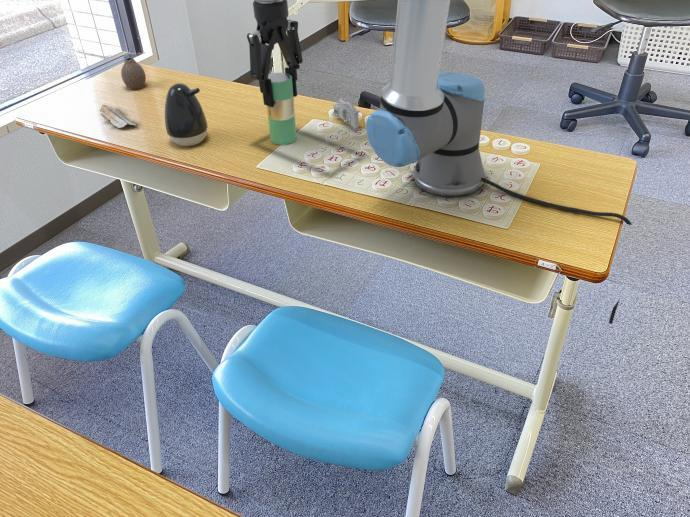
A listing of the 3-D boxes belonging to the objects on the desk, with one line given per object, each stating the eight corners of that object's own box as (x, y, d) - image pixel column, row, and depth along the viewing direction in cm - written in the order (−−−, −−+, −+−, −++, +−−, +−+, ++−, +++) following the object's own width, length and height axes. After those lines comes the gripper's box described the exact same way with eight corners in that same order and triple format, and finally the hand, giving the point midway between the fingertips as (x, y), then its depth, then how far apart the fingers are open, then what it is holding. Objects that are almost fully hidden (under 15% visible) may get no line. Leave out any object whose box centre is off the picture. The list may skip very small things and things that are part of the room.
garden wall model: (333, 114, 160) (332, 93, 156) (338, 113, 161) (337, 92, 157) (354, 130, 152) (353, 109, 148) (360, 129, 152) (360, 107, 149)
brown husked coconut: (121, 91, 180) (113, 62, 174) (131, 82, 185) (123, 54, 180) (142, 91, 179) (134, 63, 173) (151, 83, 184) (144, 55, 179)
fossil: (94, 112, 167) (103, 100, 167) (103, 119, 169) (113, 107, 170) (119, 132, 155) (129, 119, 156) (129, 139, 158) (139, 127, 158)
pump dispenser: (201, 152, 145) (189, 93, 136) (163, 150, 147) (148, 91, 138) (217, 134, 153) (206, 77, 144) (180, 132, 155) (167, 75, 146)
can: (297, 76, 139) (278, 70, 142) (277, 85, 135) (257, 78, 138) (302, 137, 148) (283, 130, 152) (283, 147, 145) (264, 139, 148)
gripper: (290, -13, 136) (299, 84, 149) (222, 7, 124) (239, 110, 138) (313, -9, 131) (320, 90, 145) (246, 12, 120) (260, 118, 134)
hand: (280, 100), depth 142 cm, fingers open, 7 cm apart
